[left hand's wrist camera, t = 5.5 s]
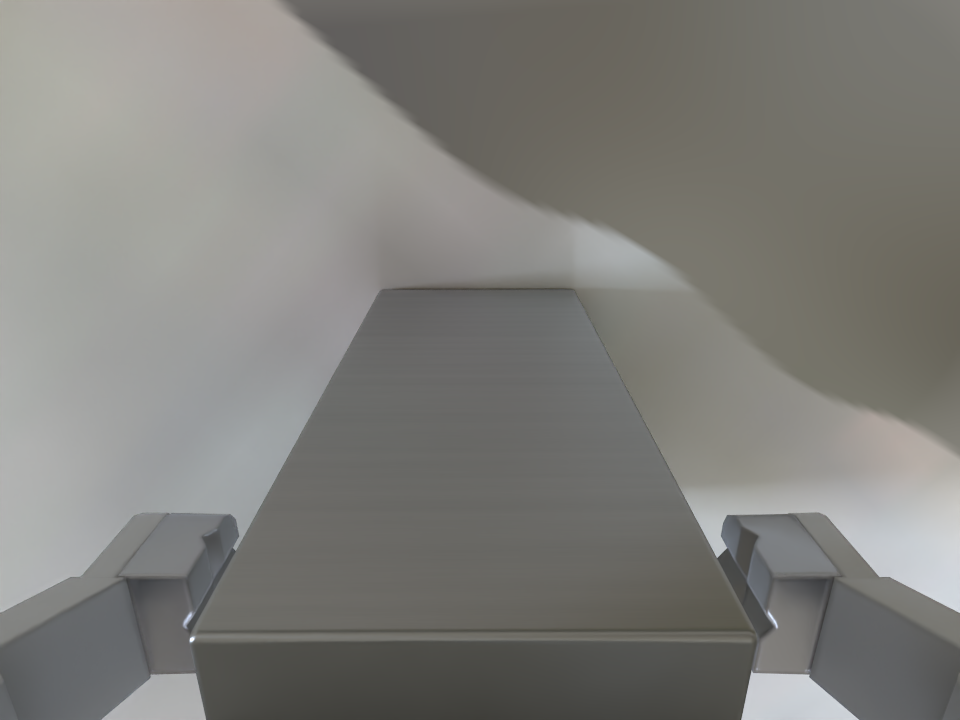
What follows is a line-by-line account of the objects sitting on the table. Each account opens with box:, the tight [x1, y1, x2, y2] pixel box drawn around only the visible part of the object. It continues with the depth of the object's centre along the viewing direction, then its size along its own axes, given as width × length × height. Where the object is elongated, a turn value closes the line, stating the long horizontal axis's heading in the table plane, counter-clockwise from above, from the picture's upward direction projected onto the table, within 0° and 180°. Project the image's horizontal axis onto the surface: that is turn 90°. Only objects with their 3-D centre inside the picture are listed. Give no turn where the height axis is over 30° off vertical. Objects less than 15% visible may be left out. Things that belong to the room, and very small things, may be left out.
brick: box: [190, 289, 757, 720], centre depth 11 cm, size 5×6×11 cm
